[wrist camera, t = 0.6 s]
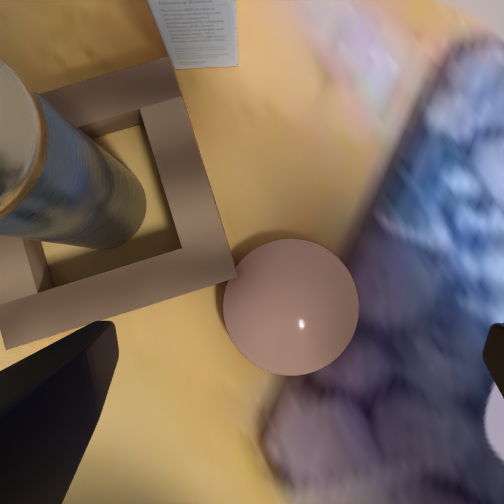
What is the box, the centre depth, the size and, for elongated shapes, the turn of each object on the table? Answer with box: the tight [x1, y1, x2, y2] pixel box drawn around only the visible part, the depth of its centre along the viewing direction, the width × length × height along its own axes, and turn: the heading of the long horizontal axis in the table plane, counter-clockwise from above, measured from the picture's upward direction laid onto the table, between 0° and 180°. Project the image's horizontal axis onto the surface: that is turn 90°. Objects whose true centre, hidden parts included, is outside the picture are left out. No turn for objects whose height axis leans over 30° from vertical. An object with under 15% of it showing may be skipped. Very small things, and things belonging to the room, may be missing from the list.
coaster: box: [223, 239, 359, 376], centre depth 22 cm, size 8×8×1 cm
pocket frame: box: [0, 56, 238, 350], centre depth 21 cm, size 13×13×2 cm
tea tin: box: [0, 59, 146, 249], centre depth 16 cm, size 6×6×12 cm
